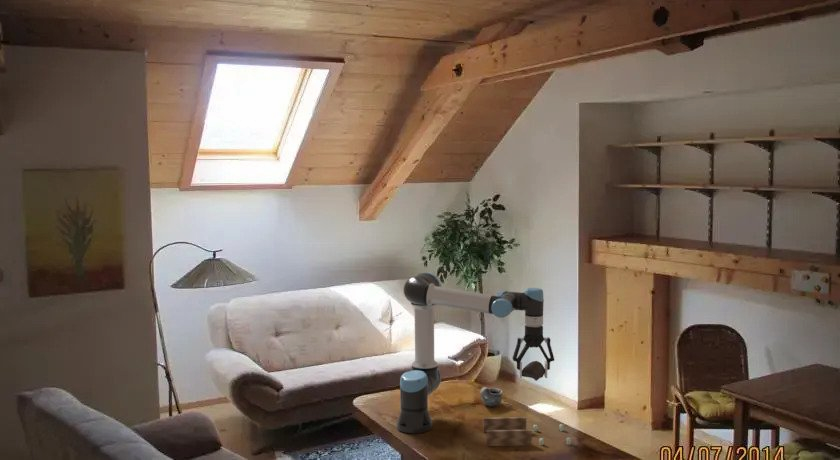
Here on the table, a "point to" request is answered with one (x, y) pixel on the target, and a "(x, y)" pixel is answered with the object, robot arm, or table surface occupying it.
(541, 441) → the zone posts
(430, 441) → the table surface
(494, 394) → the mug
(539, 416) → the table surface
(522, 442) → the channel
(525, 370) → the stone
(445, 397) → the table surface
